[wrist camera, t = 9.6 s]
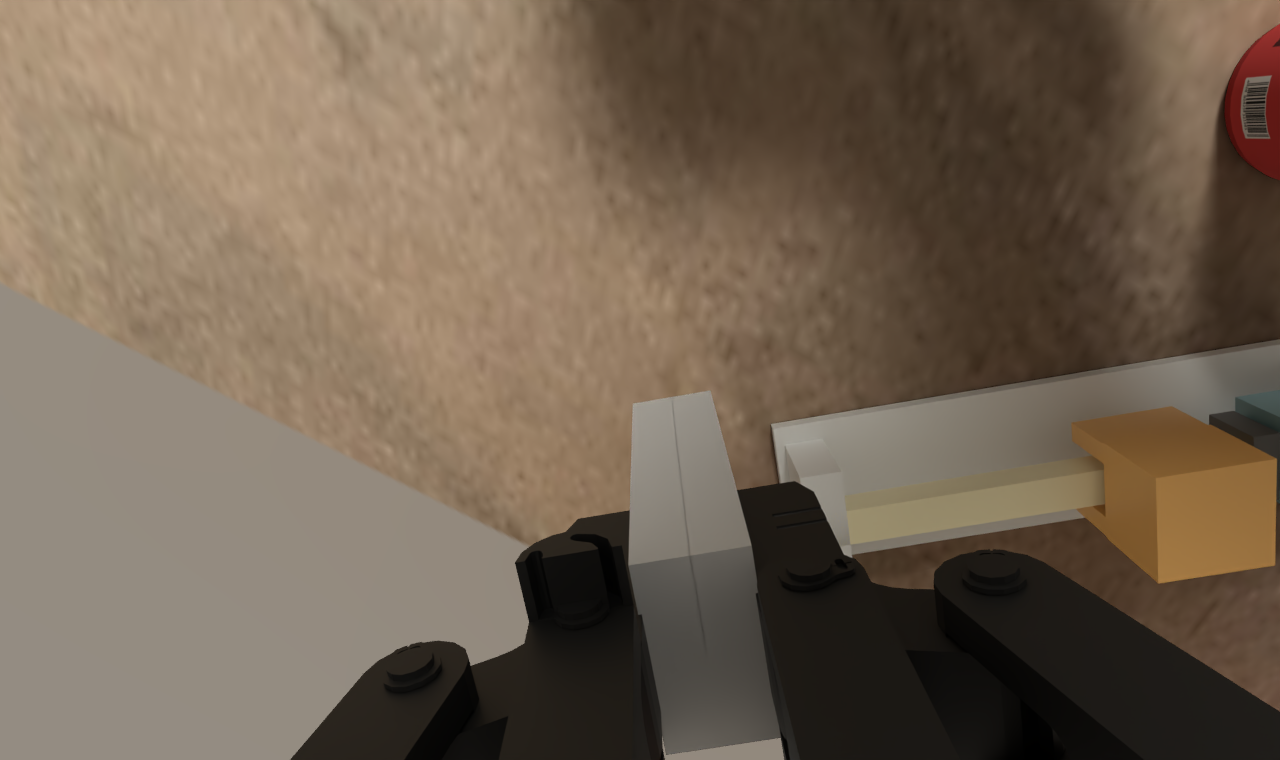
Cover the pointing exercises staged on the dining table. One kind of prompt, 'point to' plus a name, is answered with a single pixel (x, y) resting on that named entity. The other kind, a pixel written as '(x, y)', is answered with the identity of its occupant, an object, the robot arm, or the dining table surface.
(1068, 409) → the linear slide rail
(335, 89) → the dining table surface
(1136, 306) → the dining table surface
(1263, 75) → the canned food
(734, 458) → the dining table surface
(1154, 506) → the orange slider block
